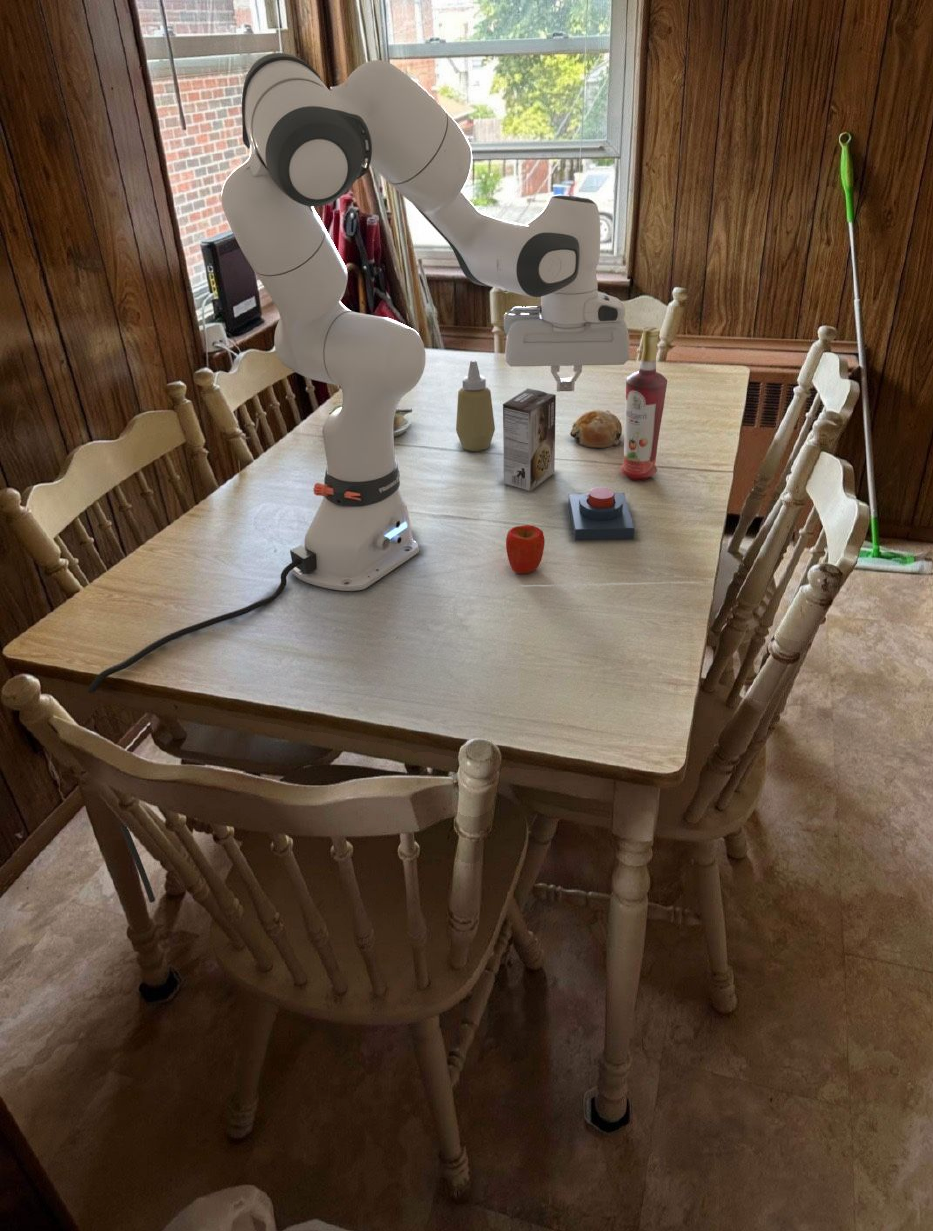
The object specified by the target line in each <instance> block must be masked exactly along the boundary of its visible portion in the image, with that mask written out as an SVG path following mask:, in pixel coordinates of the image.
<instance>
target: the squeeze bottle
mask: <svg viewBox="0 0 933 1231" xmlns="http://www.w3.org/2000/svg"><path fill="white" fill-rule="evenodd" d="M456 405H457V407H456V421H455V422H456V423H455V432H456V435H457V437H458V440H459V442H460V444H461V447H462V449H464V450H467V451H471V452H477V451H479V452H480V451H483V450H487V449H488V448H490V446H491V443H492V441H493V438H494V434H495V431H496V425H495V417H494V409H493V402H492V392H491V389H490V388H489V387H487V379H486V377H485V376H483V375H481V373H480V369H479V365H478V361H477V359H470V362H469V367H468V373H467V375H466V376H464V377H463V378H462V387H461V388H460V389H459V390H458V391H457V404H456Z"/></svg>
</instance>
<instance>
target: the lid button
mask: <svg viewBox="0 0 933 1231" xmlns="http://www.w3.org/2000/svg"><path fill="white" fill-rule="evenodd" d="M588 493H589V498H588V504H589V505H590V506H592V507H596V508H608V507H611V506H613V505H614V493H615V491H614V490H613V489H611V488H609V487H604V486H599V487H597V486H596V487H593V488H591V489H590V490H589V491H588Z"/></svg>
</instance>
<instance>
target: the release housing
mask: <svg viewBox="0 0 933 1231" xmlns="http://www.w3.org/2000/svg"><path fill="white" fill-rule="evenodd" d="M588 498H589V492H588V493H568V510H569V515H570V520H571V521H570V522H571V526H572V533H573V538H574V541H608V540H609V541H615V540H634V538H635V529H636V528H635V525H634V521H633V518H632V514H631V511H630V508H629V505H628V501H627V498H626V494H625V492H614V505H613V506H611V507H608V508H596V507H592V506H590V505H589V504H588Z"/></svg>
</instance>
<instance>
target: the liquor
mask: <svg viewBox="0 0 933 1231" xmlns="http://www.w3.org/2000/svg"><path fill="white" fill-rule="evenodd" d="M659 333H660V328H659V327H656V326H655V327H654V326H646V327H644V328H642V345H643V346H642V347H643V348H642V351H641V359H640V364H639V369H638V371H635V372H632V373H631V374H630V375H628V376H627V377H626V379H625V398H624V400H625V402H624V409H625V410H624V446H623V464H622V465H621V467H620V471H621V472H622V473H623V474H624V475H625V477H627V478H628V479H630V480H632V481H638V482H639V481H640V482H641V481H646V480H648V479H650V478H651V477H653V476H655V474H657V472H658V468H657V465H656V462H657V455H658V454H657V453H658V446H659V440H660V431H661V425H662V419H663V413H664V408H665V401H666V400H665V399H666V393H667V386H668V379H667V377H665V376H664V375H663V374H662V373H660V372H658V371H657V345H658V341H659Z"/></svg>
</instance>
